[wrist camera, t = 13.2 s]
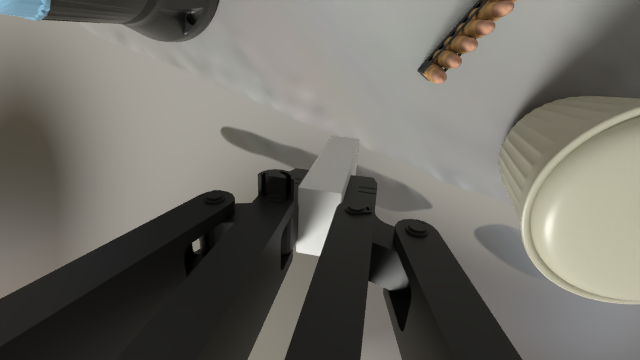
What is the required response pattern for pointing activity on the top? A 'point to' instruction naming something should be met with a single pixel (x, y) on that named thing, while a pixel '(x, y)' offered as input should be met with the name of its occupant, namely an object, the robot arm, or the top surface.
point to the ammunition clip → (464, 38)
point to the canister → (579, 193)
